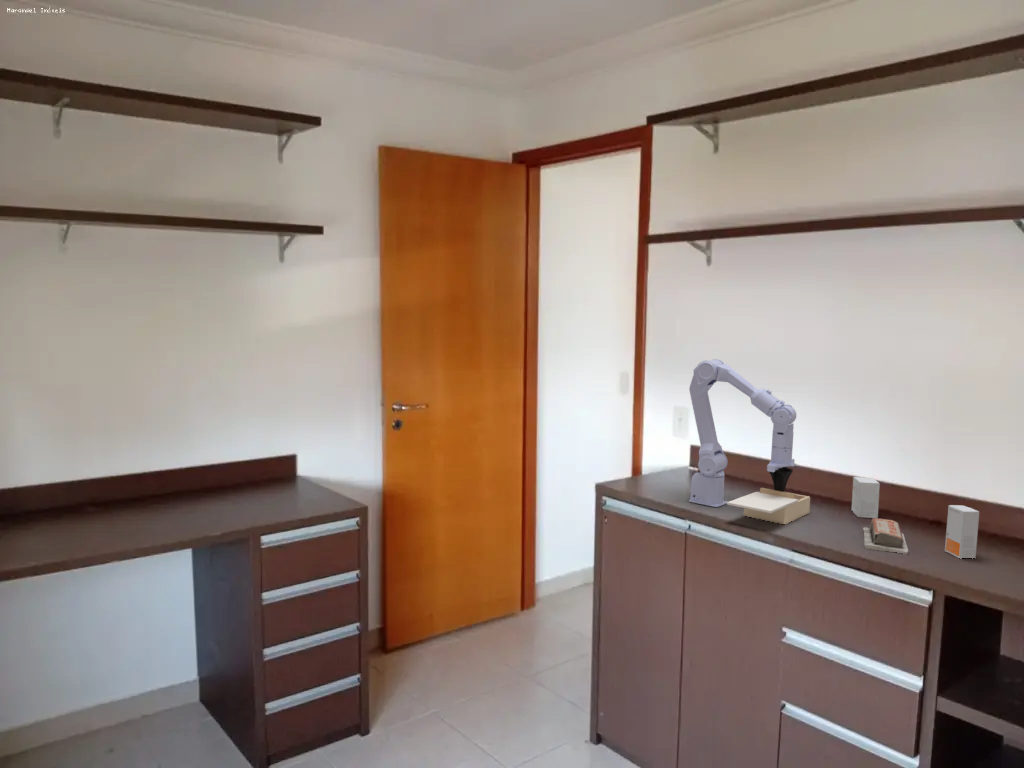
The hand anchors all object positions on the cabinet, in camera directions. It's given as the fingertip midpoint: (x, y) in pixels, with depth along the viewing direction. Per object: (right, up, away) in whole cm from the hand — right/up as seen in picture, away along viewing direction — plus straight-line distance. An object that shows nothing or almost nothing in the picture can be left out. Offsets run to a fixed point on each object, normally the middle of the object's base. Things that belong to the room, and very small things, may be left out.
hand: (779, 492), depth 224 cm
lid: (-7, -2, -8) cm, 11 cm away
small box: (+26, -7, +3) cm, 27 cm away
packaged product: (+19, -10, -25) cm, 32 cm away
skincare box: (+33, -11, -34) cm, 49 cm away
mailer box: (-1, -6, 0) cm, 6 cm away
